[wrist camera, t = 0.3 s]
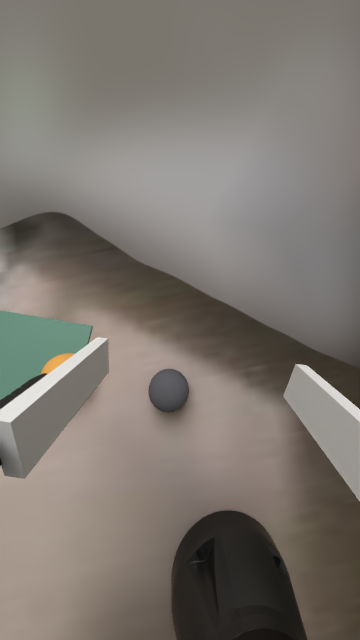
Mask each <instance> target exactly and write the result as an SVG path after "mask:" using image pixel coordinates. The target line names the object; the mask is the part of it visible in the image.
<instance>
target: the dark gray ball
mask: <svg viewBox="0 0 360 640" xmlns="http://www.w3.org/2000/svg"><path fill="white" fill-rule="evenodd" d="M188 393H189V387H188V383H187V380H186V378H185V377H184V376H183V375H182V374H181V373H180V372H179V371H177V370H174V369H165V370H162V371H160V372H158V373H157V374H156V375H155V376H154V377H153V378H152V380H151V382H150V385H149V397H150V400H151V402H152V404H153V405H154V406H155V407H156V408H157V409H158V410H160V411H163V412H174V411H176V410H178V409H179V408H181V407H182V406H183V405H184V403H185V402H186V400H187V397H188Z"/></svg>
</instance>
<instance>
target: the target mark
mask: <svg viewBox="0 0 360 640" xmlns="http://www.w3.org/2000/svg"><path fill="white" fill-rule="evenodd" d="M91 330H92V326H90V325H84V324H78V323H72V322H66V321H60V320H53V319H47V318H41V317H35V316H29V315H23V314H17V313H11V312H5V311H0V400H1V399H3V398H4V397H6V396H7V395H10V394H11V392H13V391H14V390H16V389H17V388H20V386H22V385H23V384H24V383H26V382H27V381H29V380H30V379H32V378H34V377H36V376H39V375H41V372H42V369H43V367H44V366H45V365H46V363H47V362H48V361H49V360H51V359H52V358H54V357H56V356H58V355H61V354H65V353H74V354H76V353H77V352H78V351H80V350H81V349H82V348H84V347H85V346H86V345H88V342H89V338H90V334H91Z"/></svg>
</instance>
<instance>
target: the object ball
mask: <svg viewBox="0 0 360 640" xmlns="http://www.w3.org/2000/svg"><path fill="white" fill-rule="evenodd" d="M73 355H74V353H65V354H61V355H58V356H56V357H54V358H52V359H51V360H49V361H48V362H47V363H46V365H45V366H44V367H43V369H42V372H41V374H43V373H47V374H49V373H50V372H51V371H53V370H54V369H55V368H57V367H58V366H59V365H61V364H62V363H63V362H65V361H66V360H67V359H69V358H70V357H72V356H73Z"/></svg>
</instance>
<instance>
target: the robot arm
mask: <svg viewBox="0 0 360 640" xmlns="http://www.w3.org/2000/svg"><path fill="white" fill-rule="evenodd" d="M108 372H109V361H108V339H107V338H100V337H97V338H96V339H94V340H93V341H92V342H90V343H89V344H88V345H86V346H85V347H84V348H82V349H81V350H80V351H78V352H77V353H76V354H74V355H73V356H72V357H70V358H69V359H67V360H66V361H65V362H63V363H62V364H61V365H59V366H58V367H57V368H55V369H54V370H53V371H51V372H50V373H49V374H47V373H43V374H41V375H39V376H36V377H34V378H32V379H30V380H29V381H27V382H26V383H24V384H23V385H22V386H20V388H17V389H16V390H14V391H13V392H11V394H10V395H7V396H6V397H4V398H3V399H1V400H0V466H1V465H2V469H3V472H4V475H5V476H10V477H17V478H23V479H25V478H26V476H27V475H28V474H29V473H30V471H31V470H32V469H33V467H34V466H35V465H36V464H37V462H38V461H39V460H40V459H41V457H42V456H43V455H44V454H45V452H46V451H47V450H48V448H49V447H50V446H51V445H52V443H53V442H54V441H55V440H56V438H57V437H58V436H59V434H60V433H61V432H62V431H63V429H64V428H65V427H66V426H67V424H68V423H69V422H70V420H71V419H72V418H73V417H74V415H75V414H76V413H77V412H78V410H79V409H80V408H81V406H82V405H83V404H84V403H85V401H86V400H87V399H88V398H89V396H90V395H91V394H92V392H93V391H94V390H95V389H96V387H97V386H98V385H99V384H100V382H101V381H102V380H103V379H104V377H105V376H106V375H107V373H108ZM283 397H284V398H285V399H286V401H287V402H288V403H289V405H290V406H291V408H292V409H293V410H294V412H295V413H296V414H297V416H298V417H299V418H300V420H301V421H302V423H303V424H304V425H305V427H306V428H307V429H308V431H309V432H310V434H311V435H312V436H313V438H314V439H315V440H316V442H317V443H318V445H319V446H320V447H321V449H322V450H323V451H324V453H325V454H326V456H327V457H328V458H329V460H330V461H331V462H332V464H333V465H334V467H335V468H336V469H337V471H338V472H339V473H340V475H341V476H342V478H343V479H344V480H345V482H346V483H347V484H348V486H349V487H350V489H351V490H352V491H353V493H354V494H355V495H356V497H357V498H358V500H359V501H360V409H359V408H357V407H356V406H355V405H354V404H353V403H351V402H350V401H349V400H348V399H347V398H345V397H344V396H343V395H342V394H341V393H339V392H338V391H337V390H336V389H335V388H333V387H332V386H331V385H330V384H328V383H327V382H326V381H325V380H324V379H322V378H321V377H320V376H319V375H318V374H316V373H315V372H314V371H313V370H312V369H310V368H309V367H308V366H307V365H299V364H296V365H295V367H294V370H293V373H292V375H291V378H290V380H289V383H288V386H287V388H286V391H285V393H284V396H283ZM172 615H173V623H174V628H175V633H176V637H177V640H307V637H306V633H305V630H304V626H303V623H302V619H301V616H300V612H299V609H298V605H297V602H296V598H295V595H294V591H293V588H292V584H291V581H290V577H289V574H288V571H287V568H286V566H285V563H284V561H283V559H282V557H281V555H280V553H279V551H278V549H277V547H276V546H275V544H274V542H273V540H272V538H271V536H270V535H269V533H268V532H267V531H266V530H265V528H264V527H263V526H262V525H261V524H260V523H259V522H257V521H256V520H255V519H253V518H252V517H250V516H248V515H246V514H243V513H240V512H236V511H220V512H216V513H213V514H210V515H208V516H206V517H204V518H203V519H201V520H200V521H198V522H197V523H196V524H195V525H194V526H193V527H192V528H191V529H190V530H189V531H188V533H187V534H186V535H185V537H184V538H183V540H182V542H181V544H180V546H179V548H178V550H177V553H176V556H175V559H174V563H173V569H172Z"/></svg>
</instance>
